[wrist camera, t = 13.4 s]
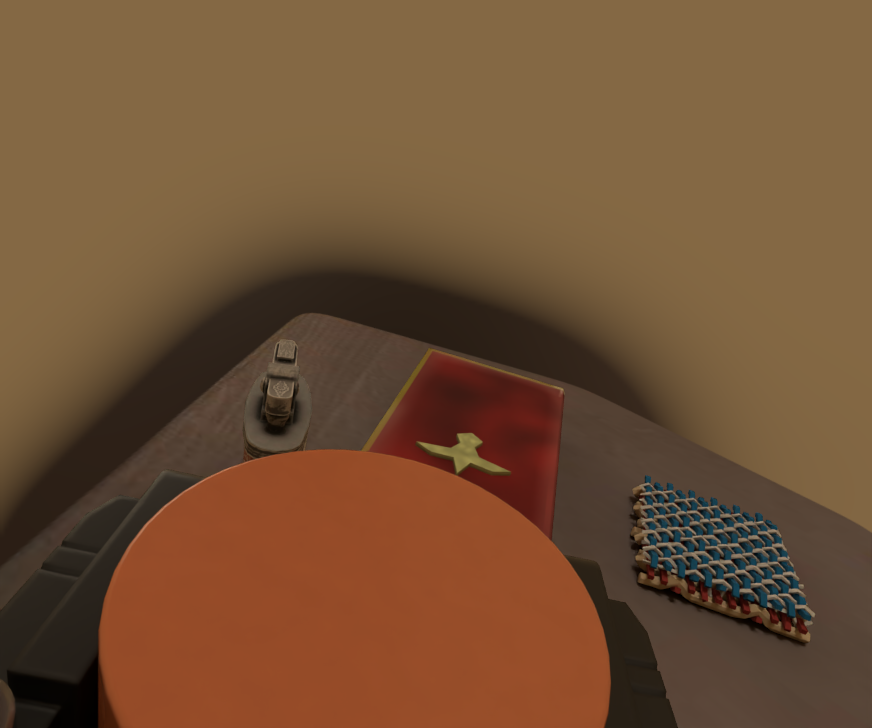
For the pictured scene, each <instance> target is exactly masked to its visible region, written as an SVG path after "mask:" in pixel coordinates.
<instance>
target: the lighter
mask: <svg viewBox="0 0 872 728" xmlns="http://www.w3.org/2000/svg"><path fill="white" fill-rule="evenodd" d="M297 353H298V346H297V345H296V344H295V342H294V341H290V340H280V342H278V343H277V344H276V347H275V353H274V358H273V363H270V362H268V367H267V371H266V372H263V373H262V374H260V375H259V377H258V378H257V380H256V381H255V383H254V384H253V386H252V387H251V390H250V392H249V395H248V397H247V400H246V403H245V412H244V422H243V438H244V446H245V447H244V456H243V463H244V462H247V461H250V460H254V459H258V458H262V457H266V456H270V455H275V454H282V453H288V452H295V451H305V448H306V442H307V434H308V429H309V424H310V419H311V413H312V405H311V394H310V391H309V388H308V385H307V381H306V380H305V378H304V377H302V376H301V375H299V371H300V366H296V362H297Z"/></svg>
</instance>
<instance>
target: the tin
mask: <svg viewBox="0 0 872 728" xmlns="http://www.w3.org/2000/svg"><path fill="white" fill-rule="evenodd" d="M610 692H611V677H610V663H609V653H608V648H607V644H606V639H605V634H604V630H603V627H602V624H601V621H600V619H599V616H598V613H597V610H596V608H595V605H594V603H593V601H592V599H591V597H590V595H589V593H588V591H587V589H586V587H585V586H584V584H583V582H582V580H581V579H580V577H579V576H578V574H577V573H576V571H575V570H574V568H573V567H572V565H571V564H570V562H569V561H568V560H567V559H566V558H565V556H564V555H563V554H562V553H561V552H560V550H559V549H558V548H557V547H556V546H555V544H554V543H553V542H552V541H551V540H550V539H549V538H548V537H547V536H546V535H545V534H544V533H543V532H542V531H541V530H540V529H539V528H538V527H537V526H535V525H534V524H533V523H532V522H531V521H529V520H528V519H527V518H526V517H525V516H523V515H522V514H521V513H520V512H519V511H517V510H516V509H514V508H513V507H511V506H510V505H509V504H507V503H506V502H504V501H503V500H501V499H500V498H498V497H497V496H495V495H493V494H491V493H490V492H488V491H486V490H485V489H483V488H481V487H480V486H478V485H475V484H473V483H471V482H469V481H467V480H465V479H463V478H461V477H459V476H457V475H454V474H452V473H449V472H447V471H444V470H441V469H439V468H436V467H433V466H430V465H427V464H424V463H420V462H417V461H414V460H410V459H406V458H401V457H397V456H393V455H387V454H381V453H374V452H368V451H356V450H337V449H320V450H305V451H295V452H288V453H282V454H275V455H270V456H266V457H262V458H258V459H254V460H250V461H247V462H244V463H241V464H238V465H235V466H232V467H229V468H227V469H225V470H222V471H220V472H218V473H216V474H214V475H211V476H209V477H207V478H205V479H203V480H201V481H200V482H198V483H196V484H195V485H193V486H191V487H190V488H188V489H186V490H184V491H183V492H182V493H180V494H179V495H178V496H176V497H175V498H174V499H172V500H171V501H170V502H168V503H167V504H166V505H164V506H163V507H162V508H161V509H160V510H159V511H158V512H157V513H156V514H155V515H154V516H153V517H152V518H151V519H150V520H149V521H148V522H147V523H146V524H145V525H144V526H143V528H142V529H141V530H140V531H139V533H138V534H137V535H136V537H135V538H134V539H133V541H132V542H131V543H130V544H129V546H128V547H127V549H126V551H125V552H124V554H123V556H122V558H121V560H120V561H119V563H118V565H117V567H116V569H115V571H114V572H113V575H112V577H111V580H110V583H109V586H108V589H107V591H106V594H105V597H104V600H103V605H102V611H101V617H100V623H99V629H98V728H605V725H606V721H607V717H608V714H609V703H610Z"/></svg>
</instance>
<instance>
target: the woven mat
mask: <svg viewBox="0 0 872 728" xmlns="http://www.w3.org/2000/svg"><path fill="white" fill-rule="evenodd" d="M650 482H651V477H650V476H646V475H645V484H642V485H639V486H638V487H636V488H633V489H632V490H633V493H634V495H635V496H636V497H638V496H639V500H641V501H642V502H638V501H637V502H636V504H635V506H633V508H634V511H635V513H636V515H637V516H638V517H639V518H640V519H638V521H637V527H633V528H632V531H631V536H634V537H635V540H636V542H637V543H638V545H641V544H642V548H643V550H640V549H639V552H638V554H637V556H635V557H636V561H637V564H638V566H639V567H640V568H641V569H643V570H644V571H645V572H647V574H646V573H641V572H640V574H639V576H638V582H639V583H642V584H645V585H648V586H651V587H655V588H658V589H665V588H670V590H672V591H674V592H676V593H678V594H680V593H681V594H682V596H683V597H685V598H686V599H687V600H689V601H690V602H693V603H695V604H698V605H701V606H704V607H706V608H709V609H712V610H715V611H717V612H720V613H723V614H726V615H728V616H731V617H736V618H743V619H745V618H750V617H751V620H753V621H755V622H758V623H760V624H762V623H763V624H764V625H765V626H766V627H767V628H768V629H770V630H771V631H773V632H776V633H778V634H781V635H784V636H787V637H789V638H792V639H795V640H798V641H800V642H803V643H808V642H810V633H808V630H807V628H806V626H809V625H812V624H813V623H812V621H811V616H812V617H814V616H815V613H814V612H813V611H812V610H810V609H809V608H808V604H807V603H806V601H805V597H807V596H806V595H805V594H803V593H802V592H801V591H800V590H799V589H804V586H803V585H802V584H799V583H798V580H799V578H798V577H797V576H796V573H795V571H794V570H793V564H792V563H791V562H790V561H789V560H788V559H790V558H789V556H788V553H787V549H786V548H785V546H784V545H782V544H783V541H782V538H781V534H780V532H779V530H777V526H776V525H774V524H772V522H771V521H769V520H766V521H764V522H765V523H764V522H763V516H762V514H760V513H756V514H755V517H756V522H754V518H753V517H750V516H749V514H748V513H746V512H744V513H743V514H742V516H741V515H740V508H739V506H736V505H733V510H734V513H732V512H731V511H730V509H727V508H726V506H725V505H720V509H719V508H718V507H717V499H715V498H712V497H711V500H710V501H711V506H710V507H708V502H705V501H704V498H701V497H699V498H698V501H696V500H695V492H694V491H691V490H689V492H688V494H689V498H687V499H686V497H685V494H682V491H680V490H677V491H676V494H675V493H674V492H673V484H671V483H667V490H664V491H663V487H661V486H660V484H659V483H657V482H656V483H655V484H654V486H652V485H651V484H650ZM640 528H642V529H640ZM770 528H771V529H770ZM643 529H644V530H643ZM777 535H778V536H779V537H778V536H777ZM782 549H783V550H782ZM787 563H788V564H789V565H791V566H789V565H787ZM793 578H794V579H793ZM696 590H698V591H700V592H698V591H696ZM722 599H723V600H725V601H723V600H722ZM779 620H781V622H780V621H779ZM790 620H791V621H793V624H794V626H795V627H797V628H795V627H793V626H791V621H790ZM807 620H808V621H807Z"/></svg>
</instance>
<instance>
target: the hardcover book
mask: <svg viewBox="0 0 872 728" xmlns="http://www.w3.org/2000/svg"><path fill="white" fill-rule="evenodd" d="M564 394H565V393H564V390H563V388H559V387H556V386H553V385H549V384H546V383H543V382H540V381H536V380H533V379H530V378H526V377H523V376H520V375H517V374H513V373H510V372H507V371H503V370H500V369H497V368H494V367H490V366H487V365H484V364H481V363H477V362H474V361H471V360H467V359H464V358H461V357H458V356H454V355H451V354H448V353H444V352H441V351H438V350H435V349H431V348H429V349H428V351H427V352H426V354H425V355H424V357H423V358H422V360H421V361H420V363H419V364H418V366H417V367H416V369H415V370H414V372H413V373H412V375H411V376H410V378H409V379H408V381H407V382H406V384H405V385H404V387H403V388H402V390H401V391H400V393H399V394H398V396H397V397H396V399H395V400H394V402H393V403H392V405H391V406H390V408H389V409H388V411H387V412H386V414H385V415H384V417H383V418H382V420H381V421H380V423H379V424H378V426H377V427H376V429H375V431H374V432H373V434H372V435H371V437H370V438H369V440H368V441H367V443H366V444H365V446H364V447H363V449H362V450H361V451H368V452H374V453H381V454H387V455H393V456H397V457H401V458H406V459H410V460H414V461H417V462H420V463H424V464H427V465H430V466H433V467H436V468H439V469H441V470H444V471H447V472H449V473H452V474H454V475H457V476H459V477H461V478H463V479H465V480H467V481H469V482H471V483H473V484H475V485H478V486H480V487H481V488H483V489H485V490H486V491H488V492H490V493H491V494H493V495H495V496H497V497H498V498H500V499H501V500H503V501H504V502H506V503H507V504H509V505H510V506H511V507H513V508H514V509H516V510H517V511H519V512H520V513H521V514H522V515H523V516H525V517H526V518H527V519H528V520H529V521H531V522H532V523H533V524H534V525H535V526H537V527H538V528H539V529H540V530H541V531H542V532H543V533H544V534H545V535H546V536H547V537H548V538H549V539H550V540H552V529H553V518H554V507H555V495H556V484H557V473H558V462H559V450H560V439H561V428H562V417H563V406H564Z"/></svg>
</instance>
